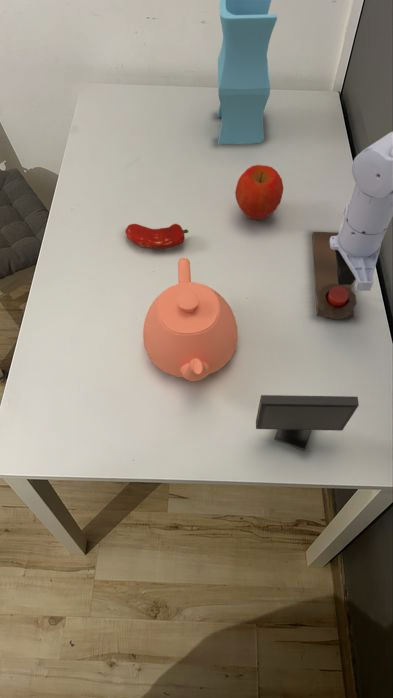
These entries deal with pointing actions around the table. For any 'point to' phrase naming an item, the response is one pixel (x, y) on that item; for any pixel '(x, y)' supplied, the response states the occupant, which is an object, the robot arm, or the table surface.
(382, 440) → the table surface
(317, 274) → the brown board with ring
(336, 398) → the panel
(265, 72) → the vase
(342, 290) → the power button
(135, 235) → the vegetable
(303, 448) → the monitor stand
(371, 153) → the robot arm
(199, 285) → the teapot
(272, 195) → the apple
